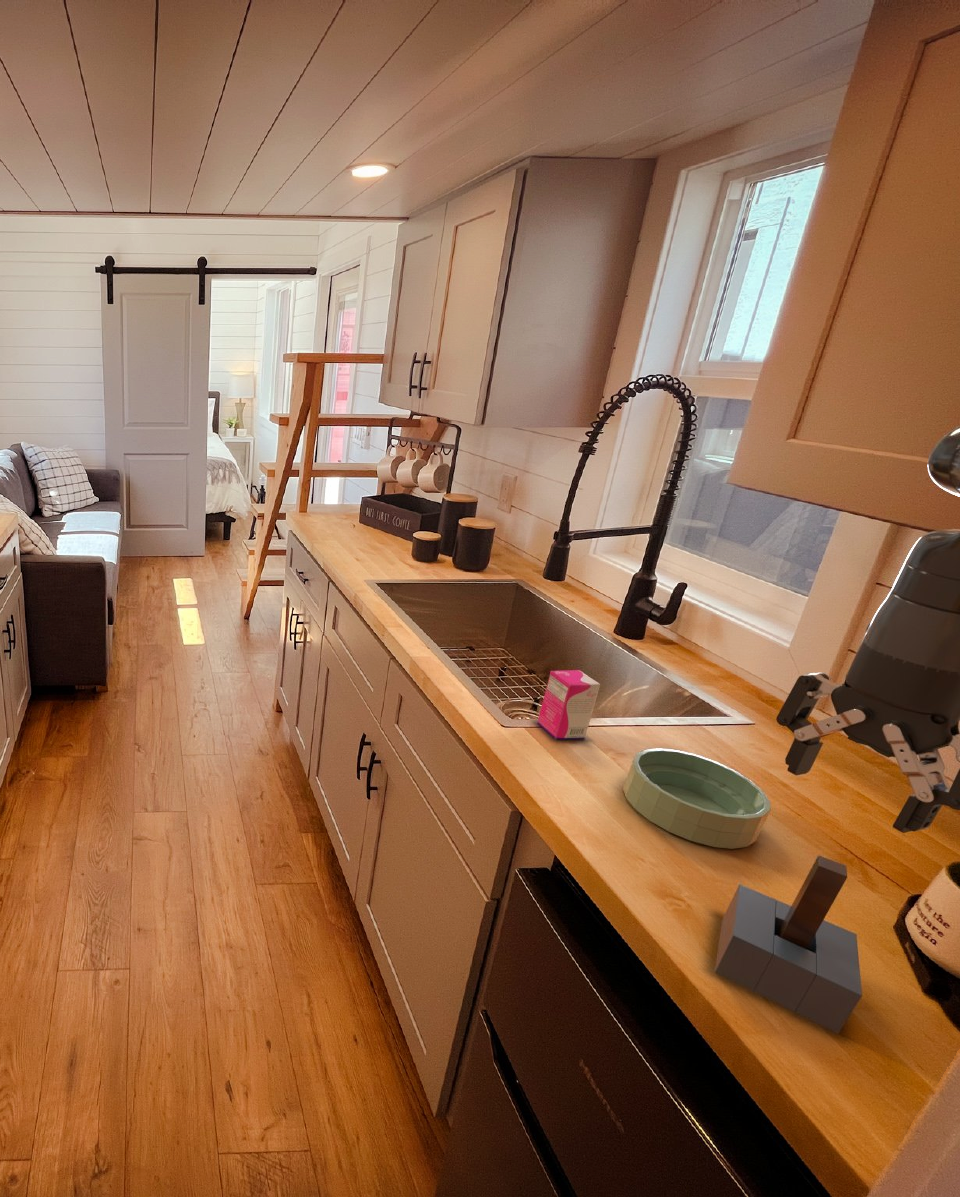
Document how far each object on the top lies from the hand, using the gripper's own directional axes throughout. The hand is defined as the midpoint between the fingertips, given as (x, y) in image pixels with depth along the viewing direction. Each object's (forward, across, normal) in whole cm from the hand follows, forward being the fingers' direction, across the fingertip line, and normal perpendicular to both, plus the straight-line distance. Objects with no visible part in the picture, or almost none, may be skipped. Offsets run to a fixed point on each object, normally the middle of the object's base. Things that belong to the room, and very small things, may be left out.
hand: (847, 799), depth 63 cm
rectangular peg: (+26, 0, -5) cm, 26 cm away
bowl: (+26, +24, -22) cm, 42 cm away
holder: (+26, 0, -5) cm, 26 cm away
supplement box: (+26, +47, -21) cm, 58 cm away
